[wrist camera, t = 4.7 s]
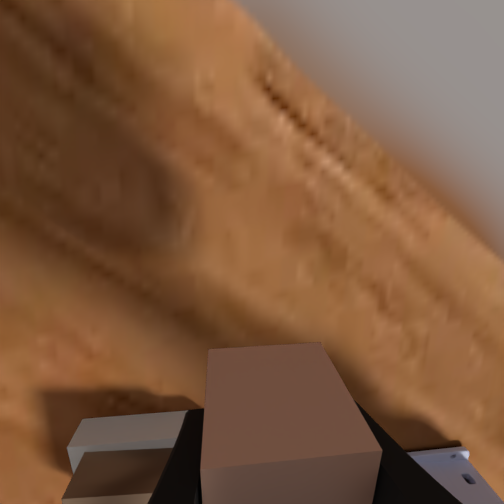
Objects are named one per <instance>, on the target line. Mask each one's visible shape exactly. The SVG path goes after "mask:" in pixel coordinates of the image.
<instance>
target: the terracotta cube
mask: <svg viewBox="0 0 504 504" xmlns="http://www.w3.org/2000/svg"><path fill="white" fill-rule="evenodd" d="M381 455H382V449H381V447H380V445H379V443H378V442H377V440H376V438H375V436H374V435H373V433H372V431H371V430H370V428H369V426H368V424H367V423H366V421H365V419H364V417H363V416H362V414H361V412H360V410H359V409H358V407H357V405H356V403H355V402H354V400H353V398H352V396H351V395H350V393H349V391H348V389H347V388H346V386H345V384H344V382H343V381H342V379H341V377H340V375H339V374H338V372H337V370H336V369H335V367H334V365H333V363H332V362H331V360H330V358H329V356H328V355H327V353H326V351H325V349H324V348H323V346H322V344H321V342H317V343H300V344H284V345H267V346H251V347H234V348H218V349H208V363H207V378H206V393H205V408H204V422H203V437H202V452H201V467H200V473H201V488H202V504H372V501H373V496H374V491H375V486H376V481H377V476H378V471H379V466H380V460H381Z"/></svg>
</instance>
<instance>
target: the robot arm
mask: <svg viewBox="0 0 504 504" xmlns="http://www.w3.org/2000/svg"><path fill="white" fill-rule="evenodd" d="M353 400H354V399H353ZM354 402H355V403H356V405H357V407H358V409H359V410H360V412H361V414H362V416H363V417H364V419H365V421H366V423H367V424H368V426H369V428H370V430H371V431H372V433H373V435H374V436H375V438H376V440H377V442H378V443H379V445H380V447H381V449H382V455H381V460H380V466H379V471H378V476H377V481H376V486H375V491H374V496H373V501H372V504H504V502H503V501H502V500H501V499H500V497H499V496H498V495H497V494H496V493H495V492H494V490H493V489H492V488H491V487H490V486H489V484H488V483H487V482H486V481H485V480H484V479H483V477H482V476H481V475H480V474H479V473H478V471H477V470H476V469H475V468H474V467H473V466H472V464H471V463H470V462H469V461H468V457H469V451H468V450H467V449H466V448H465V447H453V448H444V449H434V450H425V451H416V452H406V451H404V450H403V449H402V448H401V447H400V446H399V445H398V444H397V443H396V442H395V441H394V440H393V439H392V438H391V437H390V436H389V435H388V434H387V433H386V432H385V431H384V430H383V429H382V428H381V427H380V426H379V425H378V424H377V423H376V422H375V421H374V420H373V419H372V418H371V417H370V416H369V415H368V414H367V413H366V412H365V410H364V409H363V408H362V407H361V406H360V405H359V404H358V403H357V402H356V401H355V400H354ZM203 422H204V409H193V410H188V411H187V412H186V413H185V417H184V420H183V423H182V426H181V429H180V432H179V434H178V437H177V440H176V442H175V444H174V447H173V449H172V452H171V454H170V457H169V459H168V461H167V463H166V465H165V468H164V470H163V472H162V474H161V476H160V479H159V481H158V483H157V485H156V487H155V489H154V491H153V493H152V495H151V497H150V499H149V501H148V503H147V504H202V488H201V473H200V467H201V452H202V437H203Z"/></svg>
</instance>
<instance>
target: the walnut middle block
mask: <svg viewBox="0 0 504 504" xmlns="http://www.w3.org/2000/svg"><path fill="white" fill-rule="evenodd" d="M172 449H173V448H156V449H136V450H117V451H97V452H84V454H83V456H82V458H81V460H80V462H79V464H78V466H77V468H76V470H75V473H74V475H73V477H72V479H71V481H70V483H69V485H68V487H67V489H66V491H65V493H64V495H63V497H62V504H147V503H148V501H149V499H150V497H151V495H152V493H153V491H154V489H155V487H156V485H157V483H158V481H159V479H160V476H161V474H162V472H163V470H164V468H165V465H166V463H167V461H168V459H169V457H170V454H171V452H172Z"/></svg>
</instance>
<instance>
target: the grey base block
mask: <svg viewBox="0 0 504 504" xmlns="http://www.w3.org/2000/svg"><path fill="white" fill-rule="evenodd" d="M187 411H188V410H186V411H174V412H161V413H149V414H137V415H124V416H112V417H99V418H87V419H82V421H81V423H80V425H79V426H78V428H77V430H76V432H75V434H74V435H73V437H72V439H71V441H70V443H69V445H68V446H67V450H68V454H69V458H70V462H71V466H72V471H73V475H74V473H75V470H76V468H77V466H78V464H79V462H80V460H81V458H82V456H83V454H84V452H97V451H117V450H136V449H156V448H173V447H174V444H175V442H176V440H177V437H178V434H179V432H180V429H181V426H182V423H183V420H184V417H185V413H186V412H187Z"/></svg>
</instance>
